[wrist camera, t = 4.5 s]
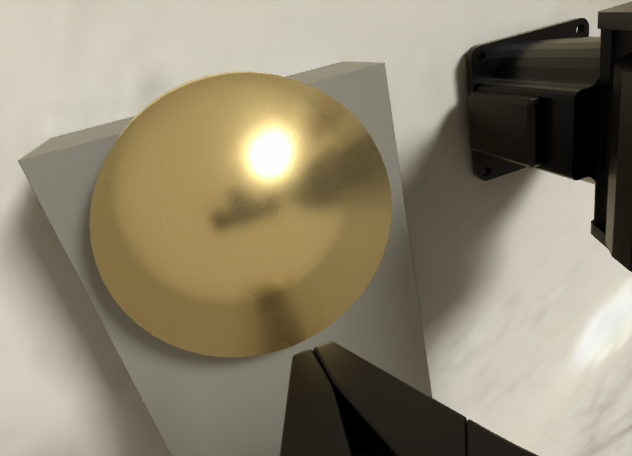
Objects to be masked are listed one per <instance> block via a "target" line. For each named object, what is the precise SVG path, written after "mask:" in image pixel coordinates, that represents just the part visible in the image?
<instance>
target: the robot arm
mask: <svg viewBox="0 0 632 456" xmlns="http://www.w3.org/2000/svg"><path fill="white" fill-rule="evenodd" d="M577 26H578V31H577V33H576V28H577ZM598 29H601V37H589V23H588V21H587V20H586V19H585V18H578V19H572V20H568V21H564V22H560V23H557V24H553V25H549V26H546V27H542V28H538V29H535V30H531V31H527V32H524V33H520V34H516V35H512V36H509V37H505V38H501V39H498V40H494V41H490V42H487V43H483V44H479V45H476V46H473V47H471V48H470V49H469V51H468V52H467V55H466V68H467V83H468V99H467V102H468V116H469V131H470V145H471V148H472V156H473V170H474V175H475V177H476V178H478V179H481V180H484V181H486V180H490V179H493V178H496V177H499V176H502V175H505V174H508V173H511V172H514V171H517V170H520V169H523V168H525V167H529V168H533V167H534V168H537V169H540V170H543V171H547V172H550V173H553V174H556V175H560V176H563V177H566V178H569V179H573V180H582V181H586V182H589V183H592V184H595V206H594V220H592V221H591V234H592V235H593V236H594V237H595V238H596V239H597V240H599V241H600V242H601V243H602V244H603V245H604V246H605V247H607V248H608V249H609V251H610V253H611V256H612V257H613V258H615V259H616V260H617V261H618V262H620V263H621V264H622V265H623V266H624V267H626V268H627V269H628V270H629V271H631V272H632V2H629V3H625V4H622V5H619V6H615V7H612V8H609V9H605V10H602V11H599V12H598ZM478 52H479V53H480V59H479V61H478V62H477V61H476V55H477V53H478ZM485 167H486V171H485V173H483V169H484V168H485ZM279 456H538V455H536V454H534V453H532V452H530V451H528V450H526V449H523V448H521V447H519V446H517V445H515V444H513V443H512V442H510V441H508V440H506V439H504V438H502V437H500V436H499V435H497V434H495V433H493V432H491V431H489V430H487V429H486V428H484V427H482V426H480V425H479V424H477V423H475V422H473V421H472V420H467V419H466V417H464V416H463V415H461V414H459V413H457V412H456V411H454V410H452V409H450V408H449V407H447V406H445V405H443V404H442V403H440V402H438V401H436V400H435V399H433V398H431V397H429V396H428V395H426V394H424V393H422V392H421V391H419V390H417V389H415V388H414V387H412V386H410V385H408V384H407V383H405V382H403V381H401V380H400V379H398V378H396V377H394V376H393V375H391V374H389V373H387V372H386V371H384V370H382V369H380V368H379V367H377V366H375V365H373V364H372V363H370V362H368V361H366V360H365V359H363V358H361V357H359V356H358V355H356V354H354V353H352V352H351V351H349V350H347V349H345V348H344V347H342V346H340V345H338V344H337V343H335V342H333V341H328V342H326V343H323V344H321V345H318V346H316V347H314V349H313V350H311V349H308V350H305V351H302V352H300V353H297V354H295V355H294V356H293V357H292V363H291V370H290V378H289V386H288V393H287V401H286V409H285V417H284V424H283V432H282V440H281V447H280V455H279Z"/></svg>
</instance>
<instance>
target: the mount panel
mask: <svg viewBox="0 0 632 456" xmlns="http://www.w3.org/2000/svg"><path fill="white" fill-rule="evenodd" d="M286 78H290V79H294V80H297V81H300V82H302V83H305V84H307V85H310V86H312V87H315V88H317V89H319V90H320V91H322V92H324V93H326V94H327V95H329V96H331V97H333V98H334V99H335V100H336V101H338V102H339V103H340V104H342V105H343V106H344V107H345V108H347V109H348V110H349V111H350V112H351V113H352V114H353V115H354V116H355V117H356V118H357V119H358V120H359V121H360V122H361V124H362V125H363V126H364V128H365V129H366V130H367V132H368V133H369V135H370V136H371V137H372V139H373V141H374V143H375V145H376V147H377V148H378V150H379V152H380V154H381V157H382V160H383V162H384V165H385V168H386V170H387V175H388V179H389V184H390V190H391V201H392V211H391V225H390V231H389V237H388V241H387V244H386V248H385V251H384V254H383V257H382V259H381V261H380V264H379V266H378V268H377V270H376V272H375V274H374V276H373V277H372V279H371V281H370V283H369V284H368V286H367V287H366V289H365V290H364V291H363V293H362V294H361V295H360V297H359V298H358V299H357V300H356V301H355V302H354V304H353V305H352V306H351V307H350V308H349V309H348V310H347V311H346V312H345V313H344V314H343V315H342V316H340V317H339V318H338V319H337V320H336V321H335V322H333V323H332V324H331V325H329V326H328V327H327V328H325V329H324V330H322V331H321V332H319V333H317V334H316V335H314V336H312V337H310V338H309V339H307V340H305V341H303V342H300V343H298V344H296V345H294V346H291V347H288V348H285V349H282V350H279V351H276V352H272V353H267V354H263V355H258V356H249V357H216V356H208V355H202V354H198V353H194V352H190V351H186V350H183V349H181V348H178V347H175V346H173V345H170V344H168V343H166V342H164V341H162V340H160V339H159V338H157V337H155V336H153V335H152V334H150V333H149V332H147V331H146V330H144V329H143V328H142V327H140V326H139V325H138V324H137V323H135V322H134V321H133V320H132V319H131V318H130V317H129V316H128V315H127V314H126V313H125V312H124V311H123V310H122V309H121V307H120V306H119V305H118V304H117V302H116V301H115V300H114V299H113V297H112V296H111V294H110V292H109V291H108V289H107V287H106V285H105V284H104V282H103V280H102V278H101V275H100V273H99V270H98V268H97V265H96V263H95V259H94V254H93V250H92V246H91V238H90V225H89V220H90V208H91V200H92V195H93V191H94V187H95V183H96V180H97V177H98V175H99V172H100V170H101V167H102V165H103V162H104V160H105V158H106V157H107V155H108V153H109V152H110V150H111V148H112V147H113V145H114V143H115V142H116V140H117V138H118V137H119V135H120V134H121V133H122V132H123V130H124V129H125V128H126V127H127V125H128V124H129V123H130V122H131V120H132V119H133V118H134V117H135V116H134V117H130V118H127V119H123V120H119V121H115V122H111V123H108V124H104V125H100V126H96V127H92V128H88V129H85V130H81V131H77V132H73V133H69V134H66V135H62V136H58V137H54V138H51V139H49V140H48V141H46V142H45V143H43V144H42V145H40V146H39V147H37V148H36V149H35V150H33V151H32V152H30V153H29V154H27V155H26V156H24V157H23V158H21V159H20V160H19V161H18V162H19V164H20V166H21V168H22V170H23V171H24V173H25V175H26V177H27V179H28V181H29V183H30V185H31V187H32V189H33V191H34V193H35V195H36V196H37V198H38V200H39V202H40V204H41V206H42V208H43V210H44V212H45V214H46V216H47V218H48V220H49V222H50V223H51V225H52V227H53V229H54V231H55V233H56V235H57V237H58V239H59V241H60V243H61V245H62V247H63V248H64V250H65V252H66V254H67V256H68V258H69V260H70V262H71V264H72V266H73V268H74V270H75V272H76V273H77V275H78V277H79V279H80V281H81V283H82V285H83V287H84V289H85V291H86V293H87V295H88V297H89V298H90V300H91V302H92V304H93V306H94V308H95V310H96V312H97V314H98V316H99V318H100V320H101V322H102V323H103V325H104V327H105V329H106V331H107V333H108V335H109V337H110V339H111V341H112V343H113V345H114V347H115V348H116V350H117V352H118V354H119V356H120V358H121V360H122V362H123V364H124V366H125V368H126V370H127V372H128V374H129V375H130V377H131V379H132V381H133V383H134V385H135V387H136V389H137V391H138V393H139V395H140V397H141V399H142V400H143V402H144V404H145V406H146V408H147V410H148V412H149V414H150V416H151V418H152V420H153V422H154V424H155V425H156V427H157V429H158V431H159V433H160V435H161V437H162V439H163V441H164V443H165V445H166V447H167V449H168V450H169V452H170V454H171V456H279V455H280V447H281V440H282V432H283V424H284V417H285V409H286V401H287V393H288V386H289V378H290V370H291V363H292V357H293V356H294V355H295V354H297V353H300V352H302V351H305V350H308V349H311V350H313V349H314V347H316V346H318V345H321V344H323V343H326V342H328V341H333V342H335V343H337V344H338V345H340V346H342V347H344V348H345V349H347V350H349V351H351V352H352V353H354V354H356V355H358V356H359V357H361V358H363V359H365V360H366V361H368V362H370V363H372V364H373V365H375V366H377V367H379V368H380V369H382V370H384V371H386V372H387V373H389V374H391V375H393V376H394V377H396V378H398V379H400V380H401V381H403V382H405V383H407V384H408V385H410V386H412V387H414V388H415V389H417V390H419V391H421V392H422V393H424V394H426V395H428V396H429V397H431V398H432V393H431V386H430V379H429V372H428V365H427V358H426V351H425V344H424V337H423V330H422V323H421V316H420V309H419V302H418V295H417V288H416V281H415V274H414V267H413V260H412V253H411V246H410V239H409V232H408V225H407V218H406V211H405V204H404V197H403V190H402V183H401V176H400V169H399V162H398V155H397V148H396V141H395V134H394V127H393V120H392V113H391V105H390V98H389V91H388V84H387V77H386V70H385V63H373V62H341V63H337V64H333V65H329V66H325V67H321V68H318V69H314V70H310V71H306V72H302V73H298V74H295V75H291V76H287V77H286Z"/></svg>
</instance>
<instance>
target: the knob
mask: <svg viewBox="0 0 632 456" xmlns="http://www.w3.org/2000/svg"><path fill="white" fill-rule="evenodd" d="M391 211H392V201H391V190H390V184H389V179H388V175H387V170H386V168H385V165H384V162H383V160H382V157H381V154H380V152H379V150H378V148H377V147H376V145H375V143H374V141H373V139H372V137H371V136H370V135H369V133H368V132H367V130H366V129H365V128H364V126H363V125H362V124H361V122H360V121H359V120H358V119H357V118H356V117H355V116H354V115H353V114H352V113H351V112H350V111H349V110H348V109H347V108H345V107H344V106H343V105H342V104H340V103H339V102H338V101H336V100H335V99H334V98H333V97H331V96H329V95H327V94H326V93H324V92H322V91H320V90H319V89H317V88H315V87H312V86H310V85H307V84H305V83H302V82H300V81H297V80H294V79H290V78H286V77H282V76H278V75H273V74H267V73H257V72H225V73H220V74H214V75H209V76H204V77H201V78H198V79H195V80H192V81H189V82H186V83H184V84H182V85H180V86H178V87H176V88H174V89H172V90H170V91H168V92H166V93H164V94H163V95H161V96H160V97H158V98H157V99H156V100H154V101H153V102H151V103H150V104H148V105H147V106H146V107H145V108H144V109H143V110H142V111H141V112H140V113H139V114H137V115H136V116H135V117H134V118H133V119H132V120H131V122H130V123H129V124H128V125H127V127H126V128H125V129H124V130H123V132H122V133H121V134H120V135H119V137H118V138H117V140H116V142H115V143H114V145H113V147H112V148H111V150H110V152H109V153H108V155H107V157H106V158H105V160H104V162H103V165H102V167H101V170H100V172H99V175H98V177H97V180H96V183H95V187H94V191H93V195H92V200H91V208H90V220H89V225H90V238H91V246H92V250H93V254H94V259H95V263H96V265H97V268H98V270H99V273H100V275H101V278H102V280H103V282H104V284H105V285H106V287H107V289H108V291H109V292H110V294H111V296H112V297H113V299H114V300H115V301H116V302H117V304H118V305H119V306H120V307H121V309H122V310H123V311H124V312H125V313H126V314H127V315H128V316H129V317H130V318H131V319H132V320H133V321H134V322H135V323H137V324H138V325H139V326H140V327H142V328H143V329H144V330H146V331H147V332H149V333H150V334H152V335H153V336H155V337H157V338H159V339H160V340H162V341H164V342H166V343H168V344H170V345H173V346H175V347H178V348H181V349H183V350H186V351H190V352H194V353H198V354H202V355H208V356H216V357H249V356H258V355H263V354H267V353H272V352H276V351H279V350H282V349H285V348H288V347H291V346H294V345H296V344H298V343H300V342H303V341H305V340H307V339H309V338H310V337H312V336H314V335H316V334H317V333H319V332H321V331H322V330H324V329H325V328H327V327H328V326H329V325H331V324H332V323H333V322H335V321H336V320H337V319H338V318H339V317H340V316H342V315H343V314H344V313H345V312H346V311H347V310H348V309H349V308H350V307H351V306H352V305H353V304H354V302H355V301H356V300H357V299H358V298H359V297H360V295H361V294H362V293H363V291H364V290H365V289H366V287H367V286H368V284H369V283H370V281H371V279H372V277H373V276H374V274H375V272H376V270H377V268H378V266H379V264H380V261H381V259H382V257H383V254H384V251H385V248H386V244H387V241H388V237H389V231H390V225H391Z"/></svg>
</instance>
